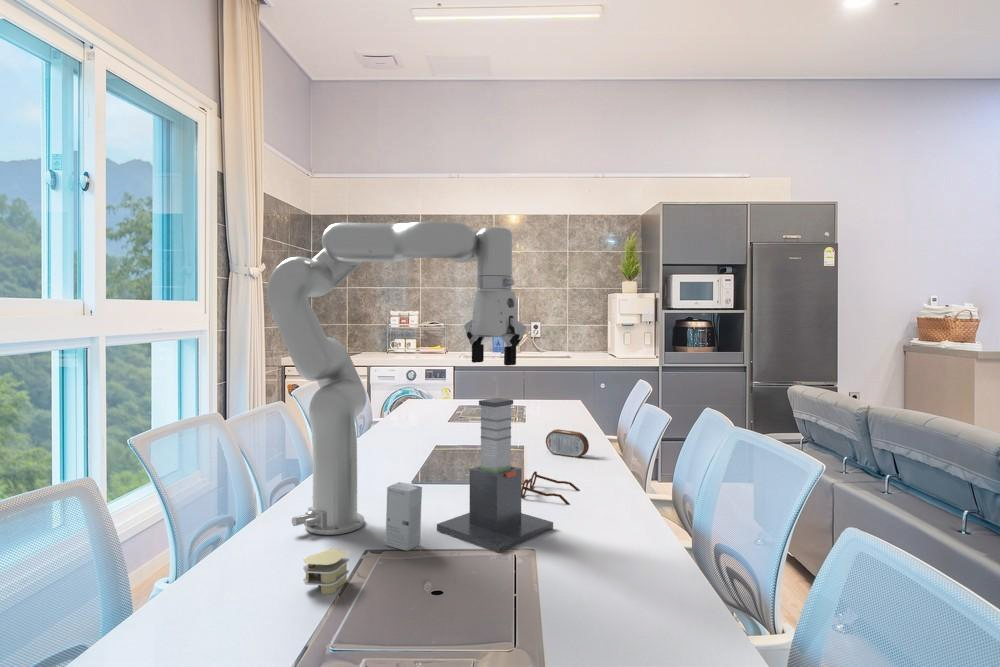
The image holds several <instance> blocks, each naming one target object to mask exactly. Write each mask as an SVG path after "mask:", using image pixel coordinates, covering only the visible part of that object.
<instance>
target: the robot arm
mask: <svg viewBox="0 0 1000 667" xmlns="http://www.w3.org/2000/svg"><path fill="white" fill-rule="evenodd" d="M321 246H322V248H323V249H322V250H321V251H320V252H319V253H317V254H316V255H315V256H314V257H313V258H309V257H305V256H293V257H289V258H287V259H285V260H283V261H281V262H280V263H279V264H278V265H277V266H276V267H275V268H274V270H273V271H272V272H271V275H270V277H269V278H268V279H269V280H268V282H267V287H266V299H267V304H268V307H269V309H270V312H271V315H272V316H273V320H274V322H275V324H276V326H277V328H278V330H279V333H280V334H281V335H280V336H281V337H282V339H283V343H284V344H285V347H286V349H287V351H288V354H289V356H290V358H291V360H292V363H293V366H294V368H295V369H296V371H297V374H298V375H299V376H300V377H301V378H303V379H304V380H306V381H309V382H317V385H318V386H319V389H318V390H317V391H316V392H315V393H314V394H313V396H312V398H311V400H310V402H309V407H308V408H309V409H308V410H309V411H308V414H309V415H308V416H309V422H310V423H309V424H310V429H311V430H310V431H311V442H312V444H311V445H312V446H311V447H312V449H311V450H312V452H311V453H312V506H309V507H308V508H307V509H308V510H307V511H306V512H305V513H304V514H302V515H301V514H300V515H297V516H296V515H295V516H293V517H292V518H291V523H292V526H293V527H297V526H301V525H304V527H305V529H306V531H308V532H309V533H312V534H315V535H323V536H330V535H331V536H332V535H333V536H334V535H342V534H346V533H351V532H354V531H356V530H357V531H358V530H359V529H360V528H362V527H363V526H364V524H365V516H363V515H362V514H361V513H358V440H357V438H358V437H357V429H356V421H355V419H356V417H358V416H359V415H361V413H362V412H363V411H364V409H365V407H366V404H367V393H366V389H365V388H364V385H363V383H362V381H361V380H362V379H361V378H360V376H359V374H358V372H357V369H356V367H355V364H354V363H353V360H352V358H351V355H350V354H349V352H348V349H347V348H346V347H345V346H344V345H343V343H341V342H340V341H339V340H338V339H335V338H333V337H329V336H327V335H326V333H325V331H324V329H323V327H322V325H321V323H320V319H319V318H318V316H317V313H316V312H315V310H314V309H313V307H312V306H311V304H310V301H309V297H310V298H319V297H323V296H325V295H327V294H328V293H330V292H331V291H332V290H333V289H335V288H336V287H337V286H338V285H339V284H340V283H341V282H343V280H345V279H346V278H348V276H349V275H351V273H353V272H354V271H355V270H356V269H357V268H358V267H359V266H360V265H361V264H362V263H389V264H390V263H394V264H395V263H403V262H404V261H406V260H407V261H408V260H410V259H411V260H412V259H450V260H451V261H453V262H455V263H462V264H463V263H470V262H471V263H472V262H476V263H477V265H476V266H477V267H476V268H477V270H476V271H477V272H476V274H477V275H476V277H477V278H476V280H477V282H476V290H477V291H475V294H474V298H473V299H474V300H473V308H472V318H471V319H470V320H469V321H468V322H466V323H465V324H464V326H463V327H464V330H465V333H466V337H467V339H468V340H469V344H470V345H471V363H483V362H484V358H485V357H484V350H485V349H484V348H485V347H484V343H483V341H484V340H485V338H502V340H503V341H504V343H505V345H506V346H504V347H503V355H504V356H503V364H504V366H507V367H508V366H516V364H517V347H519V345H520V343H521V342H522V340H523V338H524V334H525V332H526V330H527V327H526V325H524V324H523V323H522V322H520V321H519V314H518V305H517V298H516V294H515V291H512V289H513V288H512V287H513V286H514V285H515V280H514V279H513V278H512V277H513V274H512V273H513V234H512V232H511V230H510V229H509V228H506V227H497V226H496V227H495V226H493V227H484V228H481V229H480V230H472V229H471V228H470V227H469V226H467V225H465V224H464V223H461V222H457V221H456V222H455V221H414V222H398V223H397V222H394V223H393V222H389V223H388V222H386V223H385V222H384V223H383V222H336V223H333V224H330V225H329V226H328V227H327V228H326V229H324V231H323V234H322V235H321ZM482 343H483V344H482Z"/></svg>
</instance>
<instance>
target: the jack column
mask: <svg viewBox="0 0 1000 667" xmlns="http://www.w3.org/2000/svg"><path fill="white" fill-rule="evenodd" d="M478 405H479V406H480V465H479V466H480V470H484V471H488V472H492V473H496V474H498V473H501V472H504V471H508V470H511V466H512V465H511V463H512V462H511V459H512V458H511V457H512V455H511V453H512V452H511V451H512V450H511V449H512V443H511V442H512V405H514V399H509V398H502V397H493V398H488V399H480V400H478Z"/></svg>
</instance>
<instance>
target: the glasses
mask: <svg viewBox="0 0 1000 667" xmlns="http://www.w3.org/2000/svg"><path fill="white" fill-rule="evenodd" d="M537 478H539V479H541V480H545V481H547V482H551V483H555V484H565V485H569V486H571V487H572V488H573V489H574V490H575V491H578V492H579V491H581V489H579V488H578V487H577V486H576V485H575V484H573V483H572V482H570V481H566V480H556V479H553V478H549V477H547V476H543V475H540V474H538V471H536V470H535V471H533V473H532V474H531V478H529V479H527V478H526V479H525V480H524V481H523V483H522V484H521V499H522V498H524V497H525V496H526V493H527V492H532V493H535V494H538V495H541V496H545V497H557V498H559V499H561V500H562V502H564V503H565V505H570V503H569V502H568V500H567V499H566V498H564V496H562V494H559V493H555V492H554V493H553V492H552V493H546V492H543V491H540V490H537V489H534V486H535V484H536V481H537ZM528 486H529V487H528Z"/></svg>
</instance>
